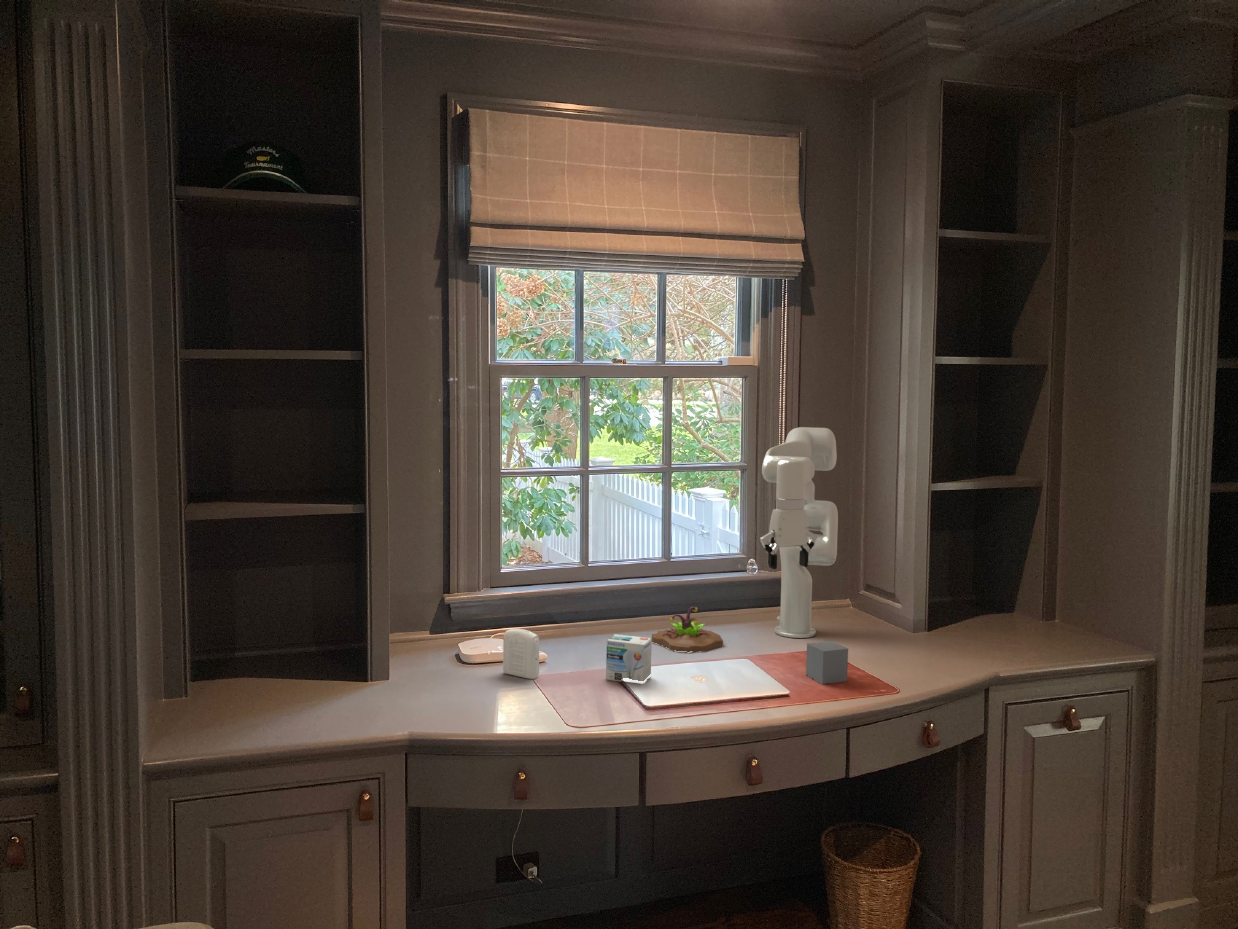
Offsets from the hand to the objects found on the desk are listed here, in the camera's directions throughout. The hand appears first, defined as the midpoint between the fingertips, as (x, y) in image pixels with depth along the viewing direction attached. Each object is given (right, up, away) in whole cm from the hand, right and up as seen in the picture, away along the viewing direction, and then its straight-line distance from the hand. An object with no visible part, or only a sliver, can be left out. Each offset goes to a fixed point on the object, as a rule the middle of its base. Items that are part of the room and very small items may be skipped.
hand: (788, 567), depth 249 cm
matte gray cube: (+9, -29, -5) cm, 31 cm away
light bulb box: (-44, -29, -8) cm, 53 cm away
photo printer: (-72, -28, -6) cm, 78 cm away
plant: (-25, -26, +27) cm, 45 cm away
